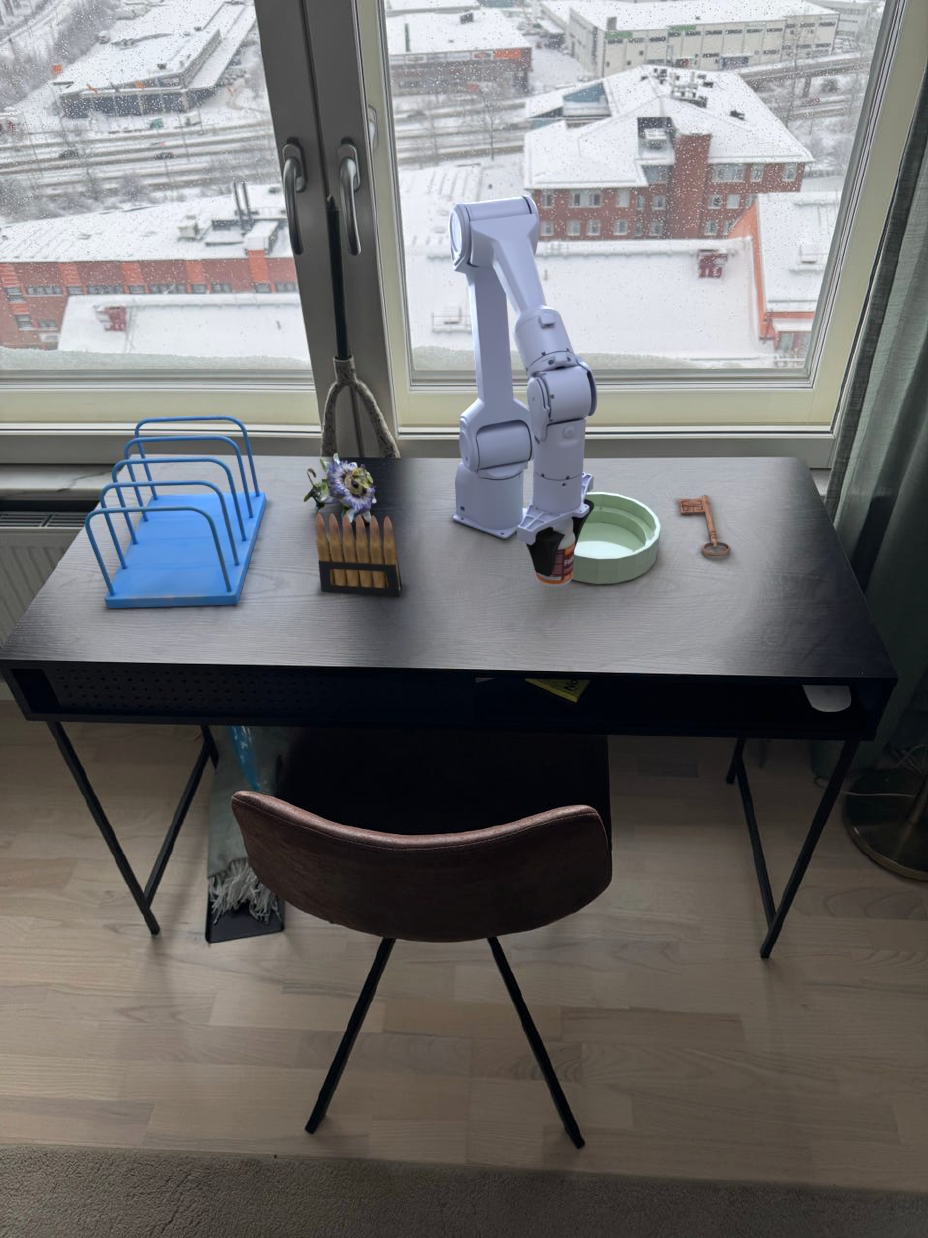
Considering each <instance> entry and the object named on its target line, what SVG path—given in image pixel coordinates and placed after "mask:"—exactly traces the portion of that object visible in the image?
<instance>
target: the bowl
mask: <svg viewBox="0 0 928 1238" xmlns="http://www.w3.org/2000/svg"><path fill="white" fill-rule="evenodd" d="M585 499H588V500H590V501H592V502H593V503H594V509H593V510H592V512H591V513H590V515H589V516H588V518H587V519H586V521H585V523H584V525H583V528H582V530H581V533H580V535H579V538H578V541H577V544H576V547H575V550H574V567H573V577H572V579H571V580H574V581H576V582H582V583H589V584H595V585H598V584H599V585H602V584H605V585H606V584H619V583H622V582H627V581H631V580H634V579H637V578H638V577H640V576H643V574H645V573H648V571H649V570H650V569H651V568H652V567H653V566H654V564H655V563H656V560H657V557H658V554H659V553H658V552H659V546H660V538H661V530H662V527H661V523H660V520H659V516H657V514H656V513H655V512H654V511H653V510H652V509H651V508H650V507H649V506H647V505H645V504H644V503H643V502H640V500H637V499H635V498H632V497H629V496H625V495H622V494H619V493H613V492H605V491H590V492H587V493H586V497H585Z"/></svg>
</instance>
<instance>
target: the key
mask: <svg viewBox="0 0 928 1238" xmlns="http://www.w3.org/2000/svg"><path fill="white" fill-rule="evenodd" d="M678 502H679V509H680V515H684V514H685V515H686V514H705V518H706V523H707V528H708V534H709V539H710V542H707V543H705V544H704V545H702V546H701V552H702V553H703V554H704V555H705V556H708V557H714V558H715V557H724V556H726V555H728V554H730V552H731V546H730V545H729V544H727V543H725V542H722V541H718V538H717V531H716V528H715V524H714V523H715V522H714V520H713V514H712V510H711V506H710V501H709V496H708V495H707V494H703V495H702V496H701V497H700V498H680V499H678ZM710 547H714V549H716V548H717V547H722V548H725V549H726V550H724V551H721V552H712V551H708V550H707V548H710Z"/></svg>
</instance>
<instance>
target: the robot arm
mask: <svg viewBox="0 0 928 1238" xmlns="http://www.w3.org/2000/svg"><path fill="white" fill-rule="evenodd" d="M447 226H448V238H449V246H450V247H449V248H450V249H449V250H450V259H451V264H452V267H453V271H454V272H456V273H460V274H463V275H465V278H466V279H465V280H466V283H467V289H468V299H469V310H470V311H469V312H470V320H471V321H470V323H471V333H472V334H471V335H472V342H473V344H472V345H473V356H474V367H475V378H476V379H475V380H476V390H477V391H476V393H477V399H476V400H475V401H474V402H473V403H472V404H471V405H470V406H469V407H468V408H467V409H466V410H464V411H463V412H462V414H460V417H459V418H460V419H459V435H458V445H459V452H460V456H461V460H462V461H461V462H460V464H459V465H458V467H457V470H456V472H455V479H454V490H455V513H456V514H454V516H453V517H452V519H453V521H454V522H457V523H461V524H463V525H466V526H468V527H471V528H474V529H476V530H479V531H482V532H485V533H488V534H490V535H493V536H495V537H498V538H501V539H504V540H507V539H509V538H510V537H511V536H512V535H514V534H515V533H516V540H517V541H519V542H521V543H524V544H525V546H526V548H527V550H528V552H529V555H530V558H531V561H532V565H533V569H534V572H537V573H539V574H542V575H544V576H547V577H549V576H550V575H551V574H552V572H553V569H554V565H555V559H556V554H557V550H558V547H559V545H560V543H561V541H562V539H563V538H564V536H565V534H562V533H559V532H556V531H554V530H553V527H551V526H552V525H555V524H557V523H559V522H561V521H564V520H566V519H568V518H572V520H573V533H574V535H575V547H576V544H577V541H578V538H579V535H580V533H581V530H582V528H583V525H584V523H585V521H586V519H587V518H588V516H589V515H590V513H591V512H592V510H593V509H594V503H593V502H592V501H590V500H588V499H585V497H586V493H587V492H592V490H593V489H594V479H595V478H594V477H595V476H594V475H593V474H590V473H587V472H584V460H585V459H584V457H585V446H586V445H585V443H586V428H587V417H592V416H594V414H595V412H596V410H597V406H598V389H597V383H596V379H595V375H594V373H593V370H592V369H591V366H589V364H588V363H586V362H585V361H584V360H583V357H582V356H580V355H576V354H575V351H574V349H573V346H572V342H571V340H570V337H569V335H568V332H567V329H566V326H565V323H564V321H563V318H562V315H561V314H560V312H559V311H558V310H556V309H555V308H552V307H549V306H547V302H546V297H545V294H544V289H543V285H542V281H541V278H540V274H539V273H540V272H539V270H538V267H537V262H536V257H535V256H536V253H537V250H538V245H539V244H538V243H539V238H540V234H541V233H540V231H541V224H540V215H539V211H538V207H537V205H536V203H535V201H534V200H533V199H532V197H530V195H528V194H521V195H520V196H516V197H515V196H514V197H508V198H507V197H506V198H500V199H491V200H484V201H475V202H467V203H466V202H465V203H462V202H457V203H455V204H454V205H453V207H452V209H451V210H450V213H449V218H448V224H447ZM507 299H508V300H507ZM508 302H509V304H510V306H511V308H512V310H513V312H514V315H515V317H516V321H515V323H514V326H513V327H512V337H513V340H514V343H515V345H516V346H515V347H516V348H517V351H518V354H519V357H520V360H521V363H522V366H523V369H524V372H525V374H526V378H527V387H526V400H527V405H526V404H525V403H524V402H522V401H521V400H519V399H517V398H515V397H514V387H513V386H514V385H513V371H512V355H511V343H510V342H511V341H510V328H509V327H510V325H509V316H508V315H509V314H508V313H509V312H508ZM532 461H533V473H532V474H533V475H532V476H533V477H532V496H531V498H530V500H529V503H528V506H527V507H524V479H525V478H524V477H525V476H524V473H525V472H524V471H525V470H527V469H528V468H529V462H532Z"/></svg>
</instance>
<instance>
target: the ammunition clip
mask: <svg viewBox="0 0 928 1238" xmlns="http://www.w3.org/2000/svg"><path fill="white" fill-rule="evenodd" d="M315 516H316V515H315ZM328 522H329V523H328V530H329V531H328V532H329V537H328V534H327V529H326V524H325V521H324V518H323V517H322V514H321V513H320V512H318V513H317V516H316V517H315V531H316V532H315V533H316V541H315V542H316V549H317V550H316V551H317V556H318V561H317V562H318V574H319V581H320V592H322V593H329V594H331V593H332V594H347V595H348V594H349V595H350V594H351V595H365V596H385V597H400V596H401V593H402V591H403V583H402V578H401V577H402V575H401V571H400V570H401V569H400V564H399V563H400V562H399V557H398V551H397V543H396V540H395V534H394V528H393V524H392V521H391V519H390V518H389V516H388V515H387V516H385V517H384V521H383V542H382V538H381V533H380V527H379V523H378V520H377V518H376V517H375V515H371V520H370V523H369V539H368V536H367V532H366V527H365V522H363V519H362V517H361V516H360V515H358V517H357V520H356V525H355V533H356V534H355V536H356V540H355V536H354V532H353V527H352V523H350V520H349V518H348V516H347V515H346V514H345V515H344V517H343V521H342V538H341V533H340V527H339V524H338V521H337V518H336V516H335V514H334V513H330V515H329V519H328Z"/></svg>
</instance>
